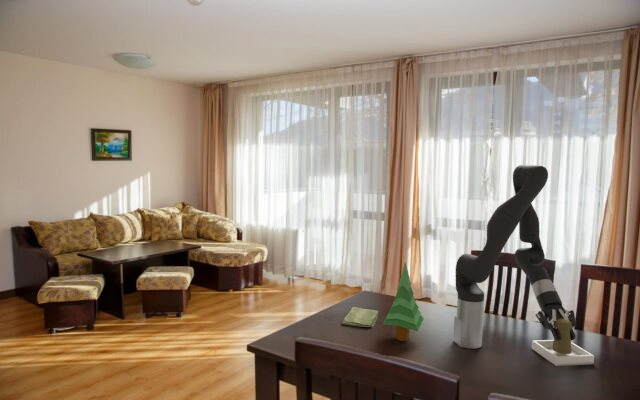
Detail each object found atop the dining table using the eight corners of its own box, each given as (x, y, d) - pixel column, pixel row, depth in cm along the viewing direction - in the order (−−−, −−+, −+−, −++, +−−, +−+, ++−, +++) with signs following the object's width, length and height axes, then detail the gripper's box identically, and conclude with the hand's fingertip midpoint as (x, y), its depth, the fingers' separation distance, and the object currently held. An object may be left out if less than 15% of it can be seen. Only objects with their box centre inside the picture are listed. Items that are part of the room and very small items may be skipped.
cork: (574, 354, 151) (576, 323, 150) (555, 353, 152) (557, 322, 151) (568, 347, 157) (570, 317, 156) (549, 345, 158) (551, 316, 157)
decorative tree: (378, 342, 164) (380, 262, 161) (392, 328, 178) (394, 254, 175) (414, 350, 158) (417, 267, 155) (425, 335, 171) (428, 259, 169)
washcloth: (340, 326, 180) (341, 318, 180) (351, 312, 197) (351, 305, 197) (372, 330, 176) (372, 322, 176) (380, 316, 193) (380, 308, 192)
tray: (556, 366, 147) (556, 357, 147) (531, 348, 160) (532, 340, 160) (593, 364, 149) (594, 355, 148) (566, 347, 162) (566, 339, 162)
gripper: (533, 290, 159) (552, 336, 148) (569, 289, 161) (591, 334, 150) (523, 299, 165) (541, 344, 154) (558, 298, 167) (579, 343, 156)
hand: (566, 339), depth 152 cm, fingers closed on cork, 4 cm apart
